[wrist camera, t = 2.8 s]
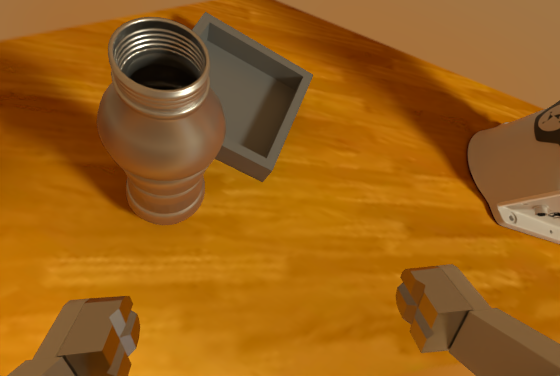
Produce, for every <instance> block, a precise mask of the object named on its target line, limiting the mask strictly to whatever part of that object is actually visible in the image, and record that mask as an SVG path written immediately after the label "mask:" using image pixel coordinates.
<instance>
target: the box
mask: <svg viewBox="0 0 560 376" xmlns="http://www.w3.org/2000/svg"><path fill="white" fill-rule="evenodd" d="M192 31H193V32H195V33H196V34H197V35H198V36H199V37H200V38H201V40H202V41H203V42H204V44H205V46H206V48H207V50H208V53H209V57H210V71H209V77H210V87H211V88H212V90H213V91H214V92H215V94H216V95H217V96H218V98H219V100H220V102H221V104H222V108H223V112H224V116H225V120H226V134H225V139H224V142H223V144H222V146H221V149H220V151H219V152H218V154H217V156H216V157H215V159H217V160H219V161H221V162H223V163H225V164H227V165H229V166H231V167H233V168H235V169H237V170H239V171H241V172H243V173H245V174H247V175H249V176H251V177H253V178H255V179H257V180H259V181H261V182H263V181H264V180H265V179H266V177H267V176H268V175H269V174H270V173H271V172H272V170H273V167H274V165H275V163H276V161H277V158H278V156H279V154H280V151H281V149H282V147H283V144H284V142H285V140H286V137H287V135H288V133H289V130H290V128H291V126H292V123H293V121H294V119H295V116H296V114H297V112H298V109H299V107H300V105H301V102H302V100H303V98H304V95H305V93H306V91H307V89H308V86H309V84H310V82H311V79H312V77H313V74H311V73H309V72H307V71H306V70H304V69H302V68H301V67H299V66H297V65H295V64H294V63H292V62H290V61H289V60H287V59H285V58H283V57H282V56H280V55H278V54H277V53H275V52H273V51H271V50H270V49H268V48H266V47H265V46H263V45H261V44H259V43H258V42H256V41H254V40H253V39H251V38H249V37H247V36H246V35H244V34H242V33H241V32H239V31H237V30H235V29H234V28H232V27H230V26H229V25H227V24H225V23H223V22H222V21H220V20H218V19H217V18H215V17H213V16H212V15H210V14H208V13H206V12H205V13H204V14H203V16H202V17H201V18H200V20H199V21H198V23H197V24H196V25H195V27H194V28H193V29H192Z"/></svg>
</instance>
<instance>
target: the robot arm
mask: <svg viewBox="0 0 560 376" xmlns="http://www.w3.org/2000/svg"><path fill="white" fill-rule="evenodd" d="M468 163H469V167H470V171H471V174H472V177H473V179H474V181H475V183H476V185H477V187H478V188H479V190H480V192H481V193H482V194H483V196H484V197H485V199H486V200H487V202H488V204H489V206H490V209H491V211H492V214H493V216H494V218H495V220H496V222H497V223H498V224H499V225H501V226H504V227H507V228H510V229H513V230H517V231H520V232H523V233H526V234H529V235H532V236H535V237H539V238H542V239H545V240H548V241H551V242H554V243H558V244H560V101H558V102H557V103H556V104H554V105H553V106H551V107H549V108H547V109H544V110H542V111H539V112H536V113H534V114H531V115H528V116H526V117H523V118H520V119H518V120H515V121H512V122H510V123H509V122H505V123H503V124H500V125H498V126H497V127H494V128H490V129H486V130H482V131H479V132H477V133H476V134H475V135H474V136H473V137H472V138H471V140H470V143H469V146H468ZM400 278H401V279H402V281H403V283H402V284H401V285H400V286H399V287H398V288H397V292H396V304H397V307H398V310H399V312H400V314H401V316H402V318H403V319H404V320H406V321H407V322H408V323H410V324H411V327H410V333H411V335H412V337H413V339H414V341H415V343H416V345H417V346H418V348H419V350H420V352H421V353H426V352H436V351H447V350H449V353H450V354H452V355H453V356H454V357H455V358H456V359H457V360H459V361H460V362H461V363H462V364H463V365H464V366H465V367H467V368H468V369H469V370H470V371H471V372H472V373H474V374H475V375H476V376H560V344H559V343H557V342H555V341H553V340H552V339H550V338H548V337H546V336H545V335H543V334H541V333H539V332H538V331H536V330H534V329H532V328H531V327H529V326H527V325H525V324H524V323H522V322H520V321H518V320H517V319H515V318H513V317H511V316H510V315H508V314H506V313H504V312H503V311H501V310H499V309H497V308H491V307H490V306H489V305H488V303H487V302H486V301H485V300H484V299H483V297H482V296H481V295H480V294H479V293H478V292H477V290H476V289H475V288H474V287H473V286H472V284H471V283H470V282H469V281H468V280H467V279H466V277H465V276H464V275H463V274H462V273H461V271H460V270H459V269H458V268H457V267H456V266H454V265H452V264H451V265H441V266H428V267H419V268H410V269H405V270H404V271H403V272H402V274H401V277H400ZM132 305H133V303H132V300H131V298H130V296H119V297H105V298H90V299H79V300H70V301H69V302H67V303H66V304H65V305H64V306H63V308H62V310H61V311H60V313H59V315H58V317H57V318H56V320H55V322H54V323H53V325H52V327H51V329H50V330H49V332H48V334H47V335H46V337H45V339H44V340H43V342H42V344H41V346H40V347H39V349H38V351H37V352H36V354H35V356H34V358H33V359H32V360H27V361H25V362H24V363H22V364H21V365H20V366H19V367H17V368H16V369H15V370H14V371H12V372H11V373H10V374H9V375H8V376H128V374H129V370H130V367H131V362H130V360H129V358H128V356H129V355H130V354H131V353H132V352H133V351H134V350H135V349H136V347H137V343H138V340H139V332H140V323H139V318H138V315H137V314H136V313H135V312H133V311H131V308H132Z"/></svg>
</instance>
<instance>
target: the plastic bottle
mask: <svg viewBox="0 0 560 376" xmlns="http://www.w3.org/2000/svg"><path fill="white" fill-rule="evenodd" d="M108 57H109V62H110V65H111V69H112V71H111V75H112V81H113V82H112V83H111V84H110V85H109V87H108V88H107V89H106V91H105V92H104V94H103V96H102V99H101V102H100V105H99V109H98V115H97V129H98V134H99V137H100V139H101V141H102V144H103V145H104V147H105V148H106V150H107V152H108V153H109V154H110V156H111V157H112V158H113V160H114V161H115V162H116V163H117V164H118V165H119V166H120V167H121V168H122V169H123V170H124V172H125V173H126V175H127V181H126V198H127V201H128V204H129V206H130V207H131V209H132V210H133V212H134V213H135V214H137V215H138V216H139V217H140V218H142V219H144V220H146V221H148V222H150V223H153V224H158V225H172V224H176V223H179V222H181V221H184V220H185V219H187V218H188V217H190V216H191V215H193V214H194V213H195V212H196V211H197V209H198V208H199V207H200V205H201V203H202V201H203V199H204V194H205V182H204V178H203V174H204V172H205V170H206V169H207V167H208V166H209V165H210V164H211V162H212V161H213V160H214V159H215V157H216V156H217V154H218V152H219V151H220V149H221V146H222V144H223V142H224V139H225V134H226V120H225V116H224V112H223V108H222V104H221V102H220V100H219V98H218V96H217V95H216V94H215V92H214V91H213V90H212V88H211V87H210V77H209V71H210V57H209V53H208V50H207V48H206V46H205V44H204V42H203V41H202V40H201V38H200V37H199V36H198V35H197V34H196V33H195V32H193V31H192V30H191V29H189V28H188V27H186V26H184V25H182V24H180V23H178V22H176V21H172V20H169V19H165V18H159V17H144V18H138V19H134V20H131V21H128V22H126V23H124V24H123V25H121V26H120V27H119V28H117V29H116V31H115V32H114V33H113V34H112V36H111V38H110V41H109V46H108Z"/></svg>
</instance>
